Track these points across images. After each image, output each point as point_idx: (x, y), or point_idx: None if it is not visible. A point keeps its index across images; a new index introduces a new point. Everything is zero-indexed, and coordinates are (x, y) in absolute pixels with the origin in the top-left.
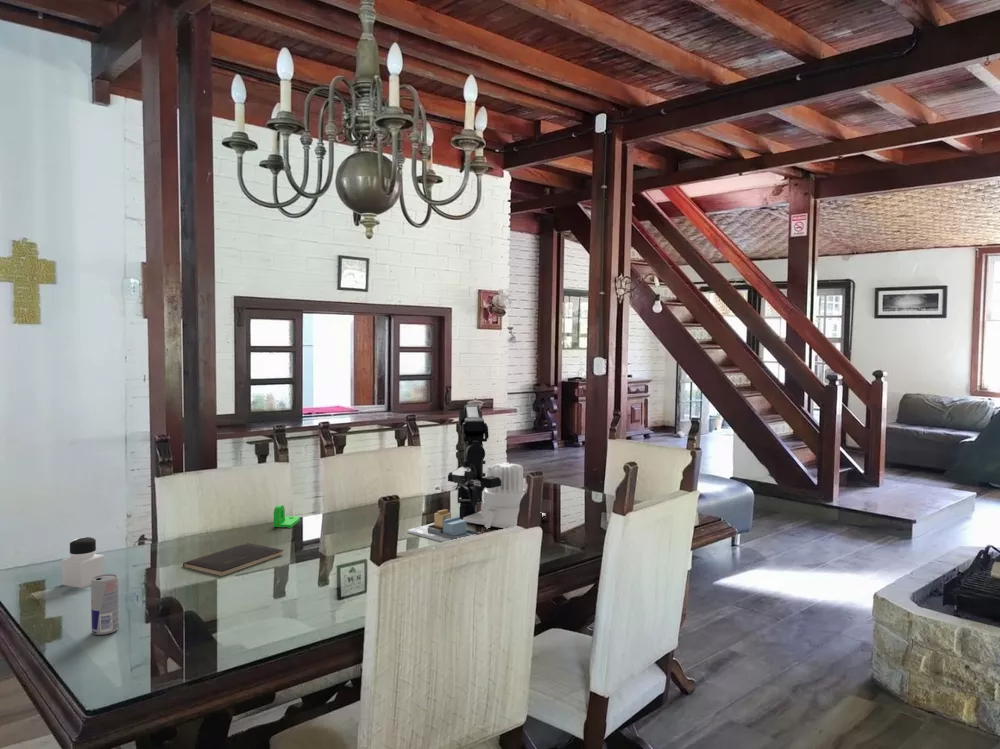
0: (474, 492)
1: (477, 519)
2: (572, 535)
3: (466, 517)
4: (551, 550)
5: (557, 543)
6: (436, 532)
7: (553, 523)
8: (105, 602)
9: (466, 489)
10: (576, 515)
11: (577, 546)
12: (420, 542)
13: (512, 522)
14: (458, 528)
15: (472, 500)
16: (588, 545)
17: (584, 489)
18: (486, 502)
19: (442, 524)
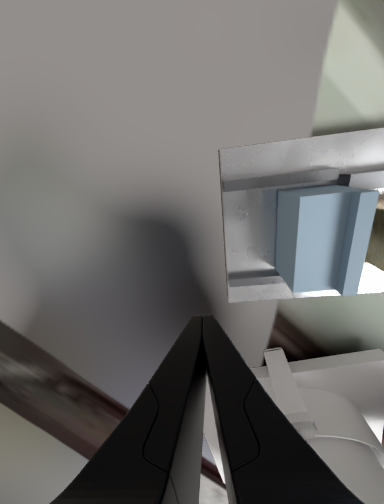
0: (119, 451)
1: (331, 371)
2: (92, 424)
3: (380, 366)
4: (5, 327)
5: (53, 371)
6: (369, 171)
7: None
8: None
9: (333, 490)
10: (204, 501)
11: (10, 381)
12: (369, 55)
13: None
14: (286, 235)
15: (195, 342)
16: (7, 397)
17: None
18: (353, 459)
19: (379, 208)
